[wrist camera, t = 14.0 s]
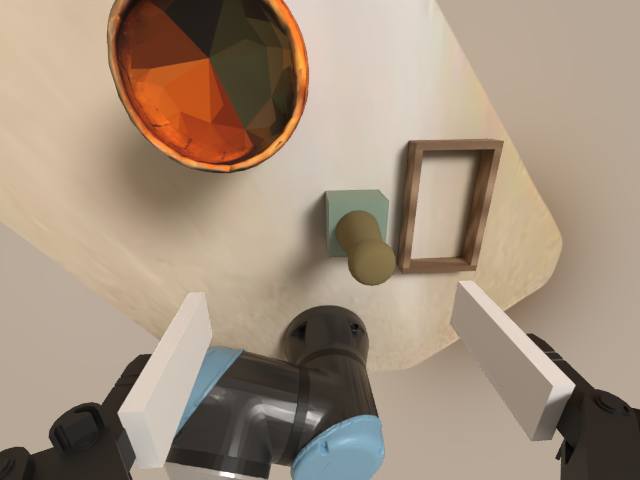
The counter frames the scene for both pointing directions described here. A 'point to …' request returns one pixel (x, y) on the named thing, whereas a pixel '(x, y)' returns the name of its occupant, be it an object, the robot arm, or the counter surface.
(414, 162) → the wooden frame
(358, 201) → the stand
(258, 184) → the counter surface
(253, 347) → the counter surface
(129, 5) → the vessel
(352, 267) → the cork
